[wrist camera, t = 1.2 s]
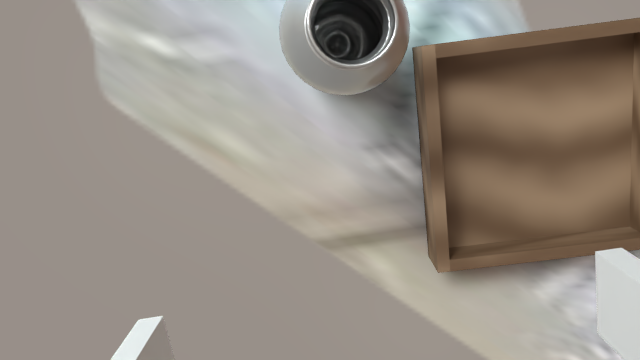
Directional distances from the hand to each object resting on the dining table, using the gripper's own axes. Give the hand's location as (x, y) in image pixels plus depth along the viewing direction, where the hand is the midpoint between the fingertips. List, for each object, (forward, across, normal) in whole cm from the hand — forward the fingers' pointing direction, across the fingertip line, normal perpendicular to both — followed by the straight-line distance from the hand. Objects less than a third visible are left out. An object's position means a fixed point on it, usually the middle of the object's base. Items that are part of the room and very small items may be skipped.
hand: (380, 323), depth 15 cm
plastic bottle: (+27, +1, +9) cm, 29 cm away
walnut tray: (+27, +15, -2) cm, 31 cm away
